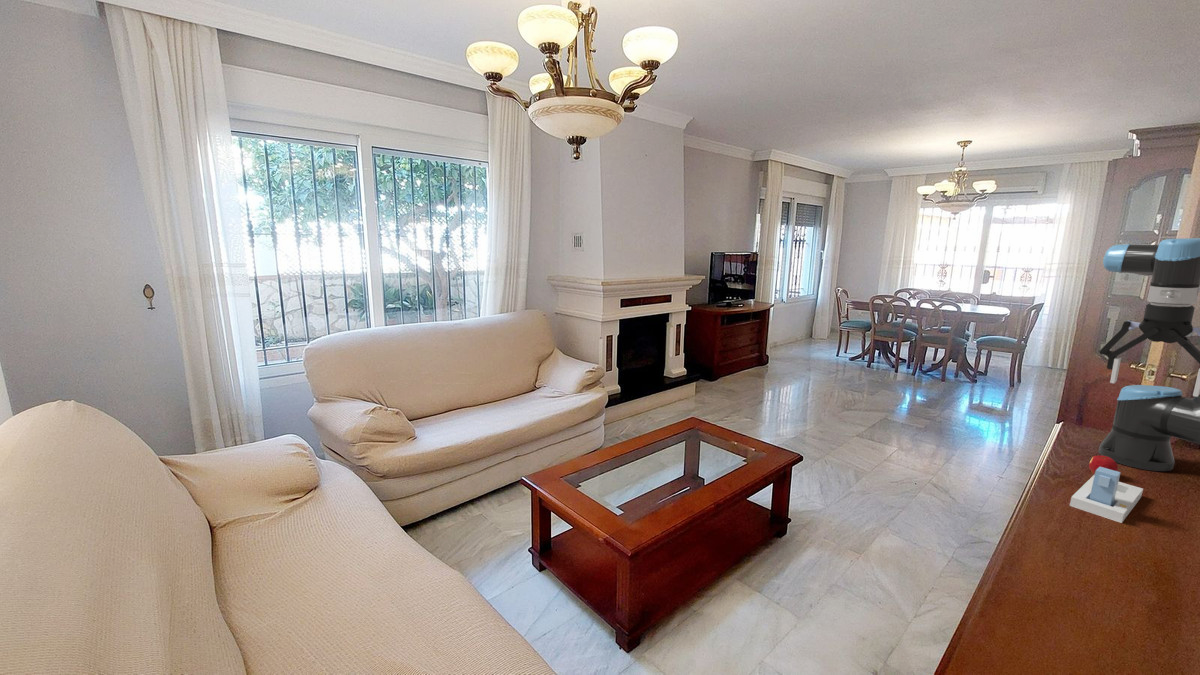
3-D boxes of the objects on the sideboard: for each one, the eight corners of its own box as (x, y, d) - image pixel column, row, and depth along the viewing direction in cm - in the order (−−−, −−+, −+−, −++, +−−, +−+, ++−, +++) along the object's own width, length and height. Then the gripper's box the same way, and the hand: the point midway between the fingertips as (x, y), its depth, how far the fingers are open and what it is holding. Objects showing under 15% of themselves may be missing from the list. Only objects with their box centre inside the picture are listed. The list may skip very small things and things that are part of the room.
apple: (1096, 483, 130) (1101, 461, 129) (1073, 469, 138) (1077, 449, 136) (1130, 485, 129) (1135, 463, 127) (1104, 471, 136) (1109, 450, 135)
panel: (1091, 484, 129) (1094, 473, 129) (1140, 499, 122) (1143, 487, 121) (1069, 507, 119) (1071, 496, 118) (1121, 525, 111) (1123, 513, 111)
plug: (1091, 502, 120) (1099, 466, 118) (1112, 509, 117) (1120, 472, 115) (1086, 508, 117) (1094, 471, 115) (1107, 514, 114) (1116, 477, 112)
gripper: (1092, 301, 121) (1078, 380, 125) (1257, 311, 100) (1233, 405, 105) (1100, 298, 125) (1087, 374, 129) (1260, 307, 104) (1237, 397, 109)
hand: (1152, 388), depth 117 cm, fingers open, 13 cm apart
